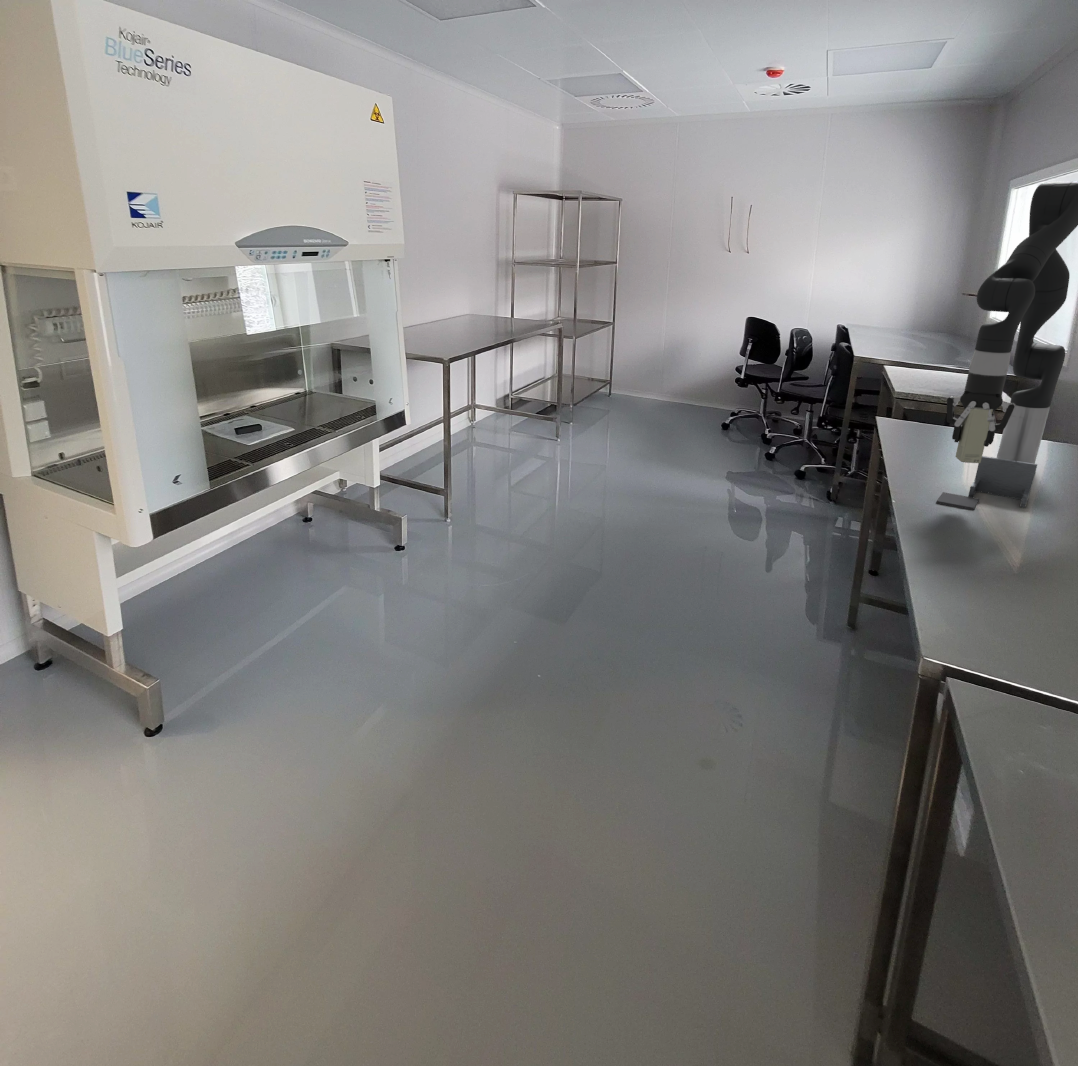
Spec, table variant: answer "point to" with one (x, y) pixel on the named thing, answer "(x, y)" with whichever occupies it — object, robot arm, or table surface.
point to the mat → (958, 501)
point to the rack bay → (1004, 478)
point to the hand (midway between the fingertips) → (971, 443)
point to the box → (973, 436)
